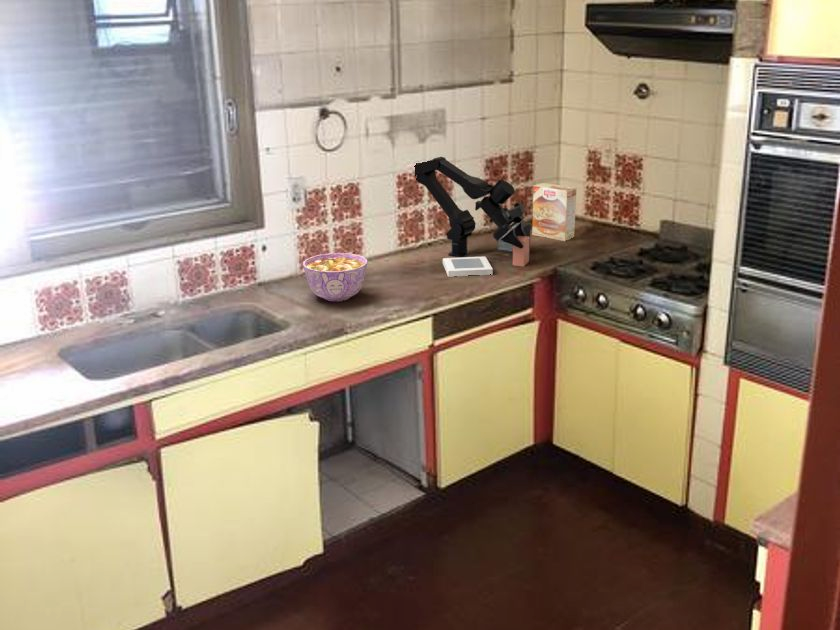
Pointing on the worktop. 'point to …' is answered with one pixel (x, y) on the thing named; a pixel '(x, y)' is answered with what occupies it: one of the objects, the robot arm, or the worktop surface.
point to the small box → (509, 247)
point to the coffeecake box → (554, 211)
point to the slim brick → (521, 252)
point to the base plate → (467, 266)
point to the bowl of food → (335, 275)
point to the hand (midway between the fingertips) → (525, 245)
